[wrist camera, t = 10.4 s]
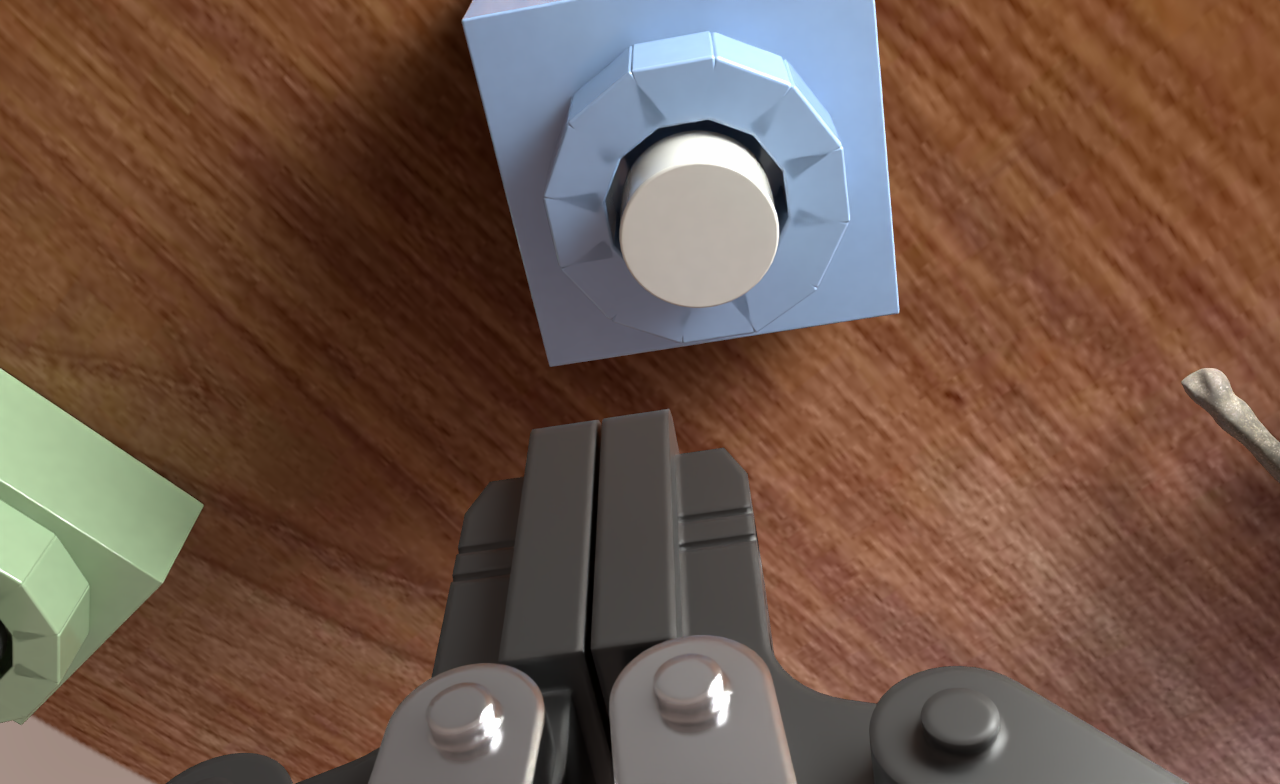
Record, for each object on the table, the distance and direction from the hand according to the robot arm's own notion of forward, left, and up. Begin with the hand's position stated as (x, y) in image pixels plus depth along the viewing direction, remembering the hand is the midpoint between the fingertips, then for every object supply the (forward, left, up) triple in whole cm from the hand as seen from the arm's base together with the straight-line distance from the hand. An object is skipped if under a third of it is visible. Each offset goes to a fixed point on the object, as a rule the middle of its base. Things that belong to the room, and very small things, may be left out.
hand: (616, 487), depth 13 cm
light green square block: (-20, -10, -18) cm, 28 cm away
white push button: (+1, -2, -12) cm, 12 cm away
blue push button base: (+1, -2, -18) cm, 18 cm away
